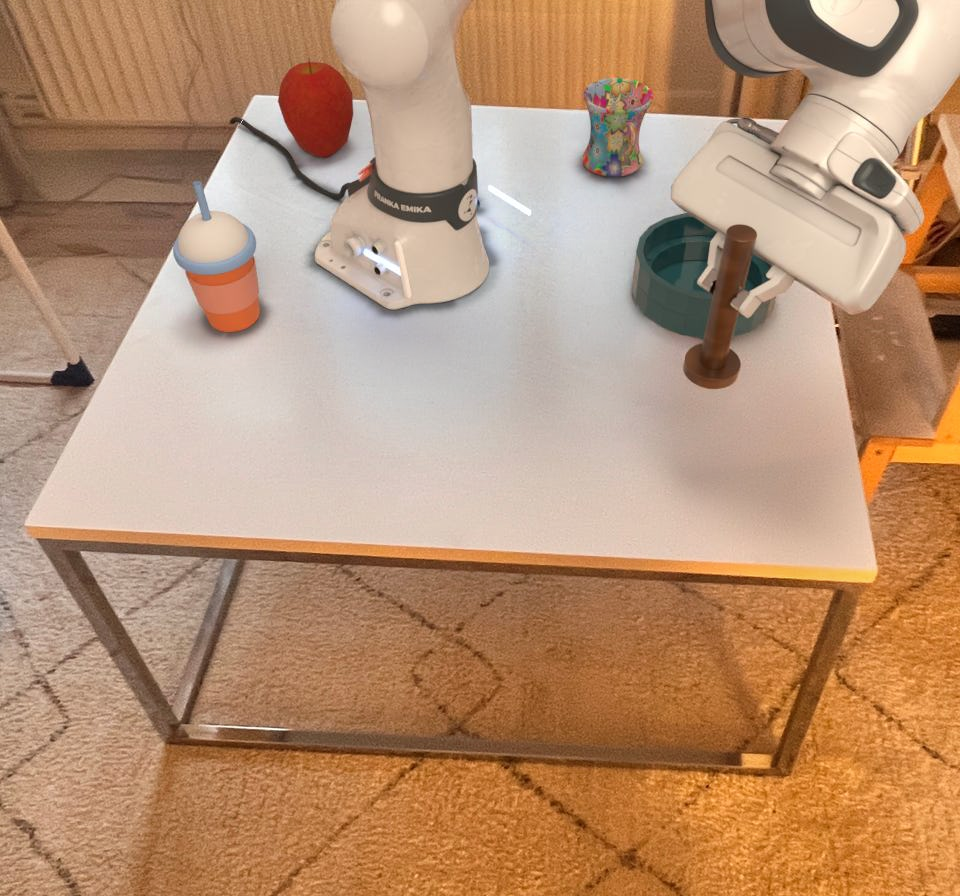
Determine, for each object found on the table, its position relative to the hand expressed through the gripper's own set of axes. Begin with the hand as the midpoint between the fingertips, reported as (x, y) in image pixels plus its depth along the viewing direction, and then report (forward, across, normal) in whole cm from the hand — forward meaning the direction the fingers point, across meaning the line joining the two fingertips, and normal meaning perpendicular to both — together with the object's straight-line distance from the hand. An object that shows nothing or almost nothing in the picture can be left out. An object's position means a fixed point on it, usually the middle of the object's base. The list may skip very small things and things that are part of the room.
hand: (722, 301), depth 78 cm
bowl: (0, -17, +29) cm, 34 cm away
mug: (-7, -45, +37) cm, 59 cm away
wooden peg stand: (+6, 0, +6) cm, 8 cm away
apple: (+14, -76, +16) cm, 79 cm away
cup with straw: (+33, -50, -3) cm, 60 cm away
